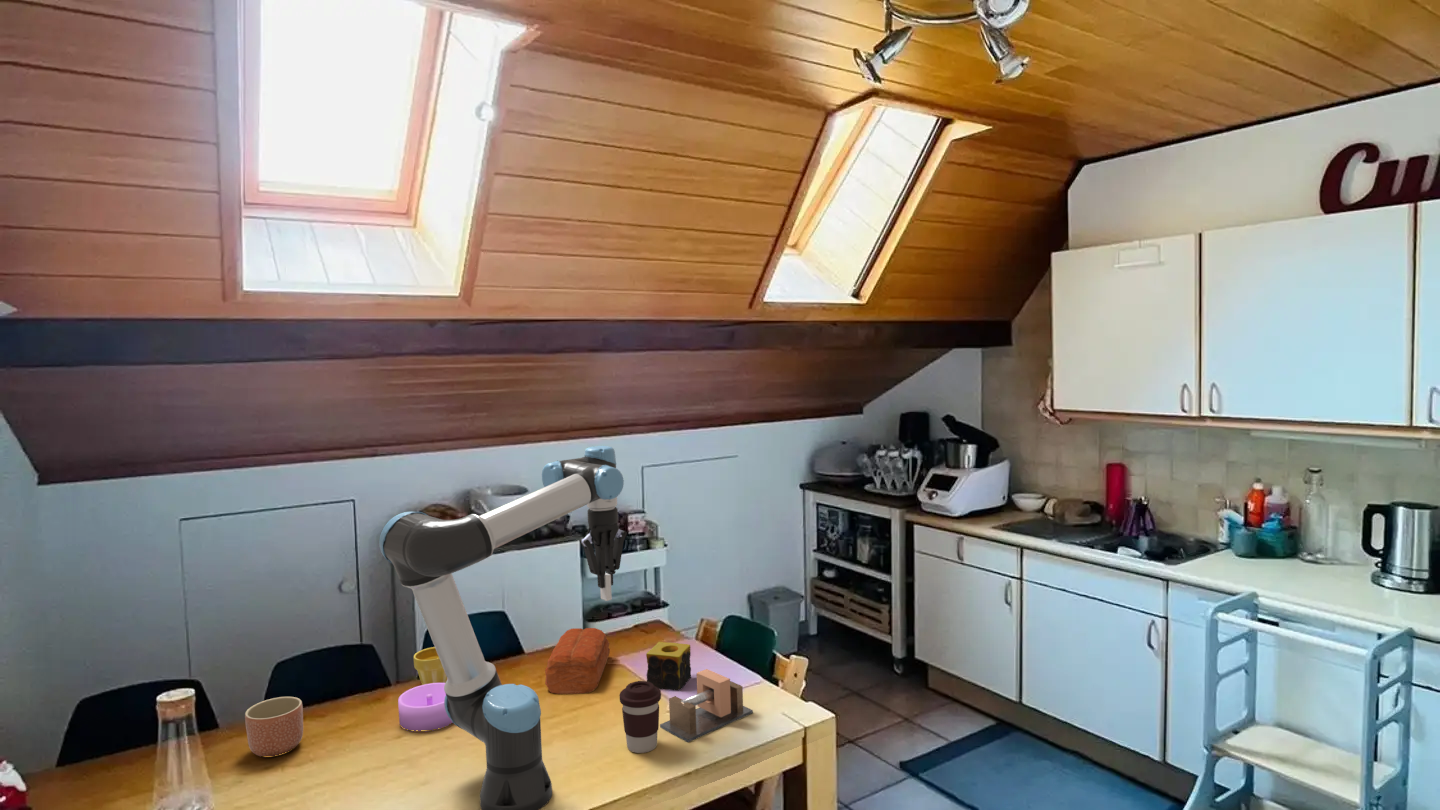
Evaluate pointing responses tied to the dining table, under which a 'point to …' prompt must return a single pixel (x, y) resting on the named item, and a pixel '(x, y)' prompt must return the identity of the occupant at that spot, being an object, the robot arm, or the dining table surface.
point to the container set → (423, 708)
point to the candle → (669, 665)
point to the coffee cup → (640, 715)
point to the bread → (577, 661)
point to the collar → (715, 692)
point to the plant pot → (429, 666)
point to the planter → (274, 725)
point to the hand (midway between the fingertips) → (606, 599)
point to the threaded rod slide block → (702, 714)
